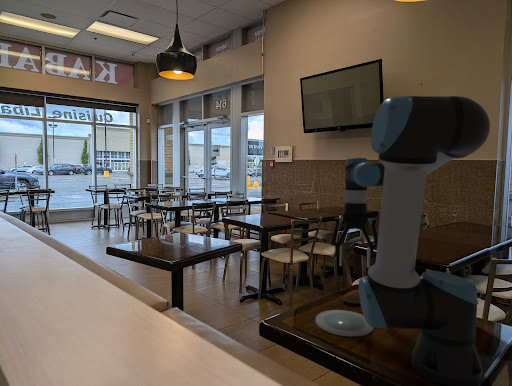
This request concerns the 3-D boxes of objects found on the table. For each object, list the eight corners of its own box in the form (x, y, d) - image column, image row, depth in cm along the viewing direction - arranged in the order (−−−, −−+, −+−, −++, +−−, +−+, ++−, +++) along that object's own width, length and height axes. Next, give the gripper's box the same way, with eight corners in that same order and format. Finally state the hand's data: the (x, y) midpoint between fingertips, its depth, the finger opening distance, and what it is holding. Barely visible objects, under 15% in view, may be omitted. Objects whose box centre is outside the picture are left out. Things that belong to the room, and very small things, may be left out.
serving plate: (377, 339, 101) (377, 337, 101) (314, 333, 105) (314, 331, 105) (370, 314, 119) (370, 312, 119) (316, 309, 123) (316, 307, 123)
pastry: (348, 305, 126) (349, 295, 125) (338, 298, 132) (339, 289, 132) (371, 302, 128) (371, 292, 128) (360, 296, 135) (360, 286, 135)
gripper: (386, 202, 124) (384, 265, 126) (324, 200, 129) (323, 261, 130) (390, 203, 117) (388, 270, 118) (324, 202, 122) (322, 266, 123)
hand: (354, 266), depth 124 cm, fingers open, 9 cm apart
